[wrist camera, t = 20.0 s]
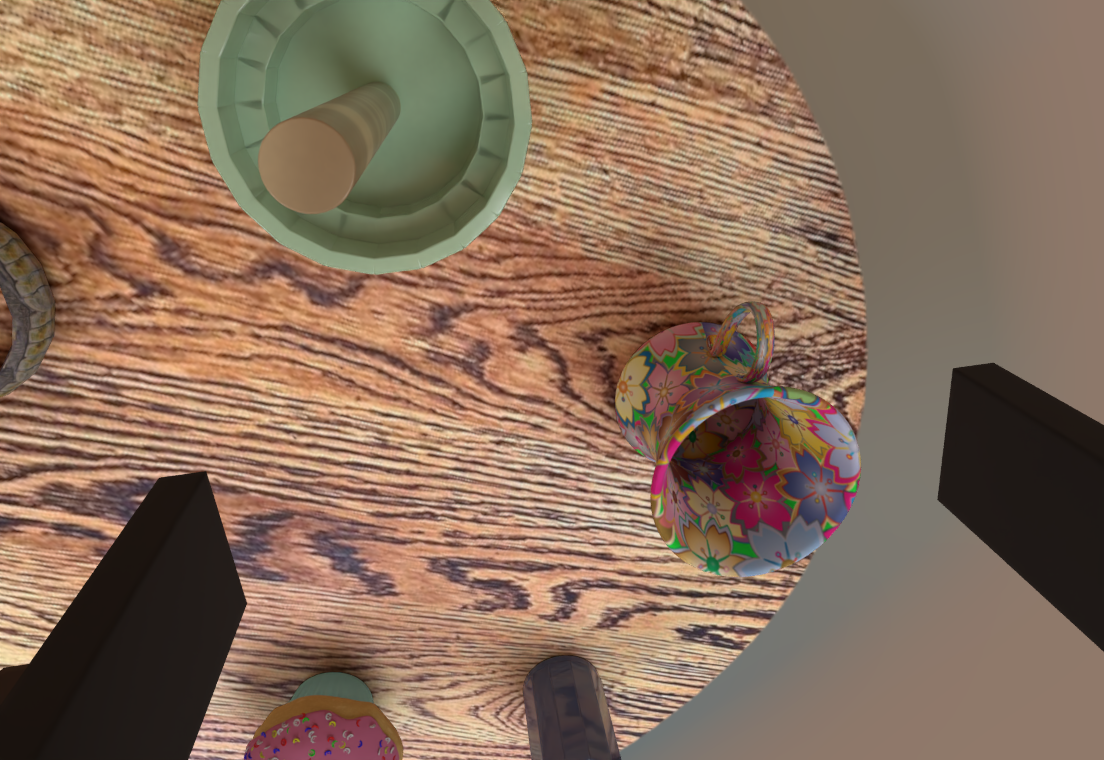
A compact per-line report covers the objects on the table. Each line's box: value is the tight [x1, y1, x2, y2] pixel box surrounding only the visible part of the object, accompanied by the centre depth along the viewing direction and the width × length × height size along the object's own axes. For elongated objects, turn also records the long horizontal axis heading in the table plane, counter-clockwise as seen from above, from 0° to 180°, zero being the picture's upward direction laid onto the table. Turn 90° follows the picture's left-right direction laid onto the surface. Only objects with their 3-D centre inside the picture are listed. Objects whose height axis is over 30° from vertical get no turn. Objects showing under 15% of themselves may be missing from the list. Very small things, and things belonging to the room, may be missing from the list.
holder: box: [523, 655, 621, 760], centre depth 46 cm, size 5×5×8 cm
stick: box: [258, 82, 401, 214], centre depth 26 cm, size 2×2×20 cm
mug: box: [615, 302, 861, 577], centre depth 38 cm, size 12×9×11 cm
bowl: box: [198, 0, 532, 275], centre depth 33 cm, size 12×12×6 cm
